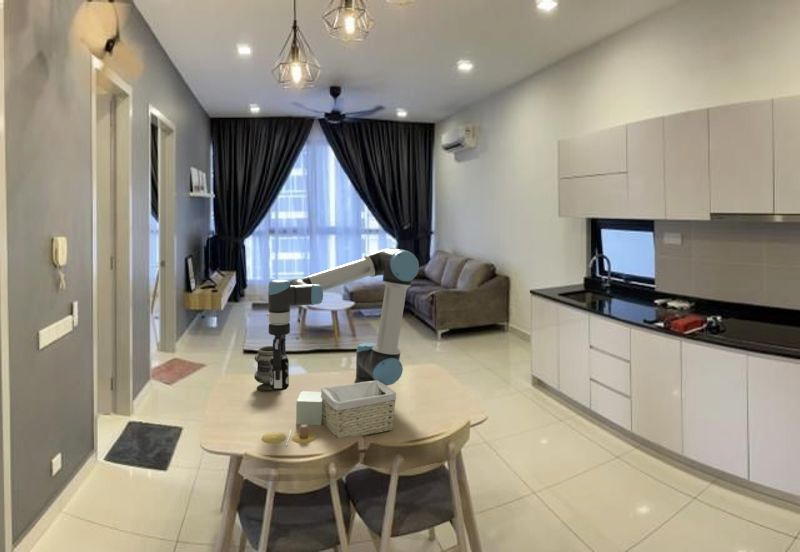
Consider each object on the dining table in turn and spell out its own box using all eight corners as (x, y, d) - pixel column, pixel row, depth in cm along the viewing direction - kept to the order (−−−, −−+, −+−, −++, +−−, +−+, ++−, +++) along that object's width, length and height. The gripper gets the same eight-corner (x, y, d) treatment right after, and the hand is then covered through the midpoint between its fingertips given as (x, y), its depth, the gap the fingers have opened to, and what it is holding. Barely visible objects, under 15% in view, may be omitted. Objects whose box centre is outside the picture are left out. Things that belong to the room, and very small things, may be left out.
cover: (325, 392, 186) (301, 391, 186) (321, 401, 176) (296, 401, 176) (324, 417, 188) (300, 416, 187) (321, 428, 178) (296, 427, 177)
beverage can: (284, 392, 176) (283, 359, 174) (267, 390, 177) (266, 358, 176) (291, 386, 182) (291, 354, 181) (275, 384, 184) (275, 353, 182)
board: (317, 432, 174) (317, 418, 173) (313, 450, 161) (314, 435, 161) (265, 432, 172) (265, 418, 172) (257, 450, 160) (258, 434, 159)
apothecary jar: (253, 393, 209) (253, 352, 206) (254, 384, 220) (255, 345, 218) (282, 392, 212) (283, 351, 209) (282, 382, 223) (283, 344, 221)
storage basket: (334, 444, 166) (335, 402, 164) (318, 425, 180) (319, 386, 179) (396, 431, 178) (398, 392, 176) (377, 415, 192) (378, 378, 190)
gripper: (273, 316, 186) (273, 375, 189) (263, 329, 167) (264, 394, 170) (293, 317, 187) (293, 375, 190) (285, 329, 167) (286, 394, 170)
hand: (279, 384), depth 180 cm, fingers closed on beverage can, 6 cm apart
